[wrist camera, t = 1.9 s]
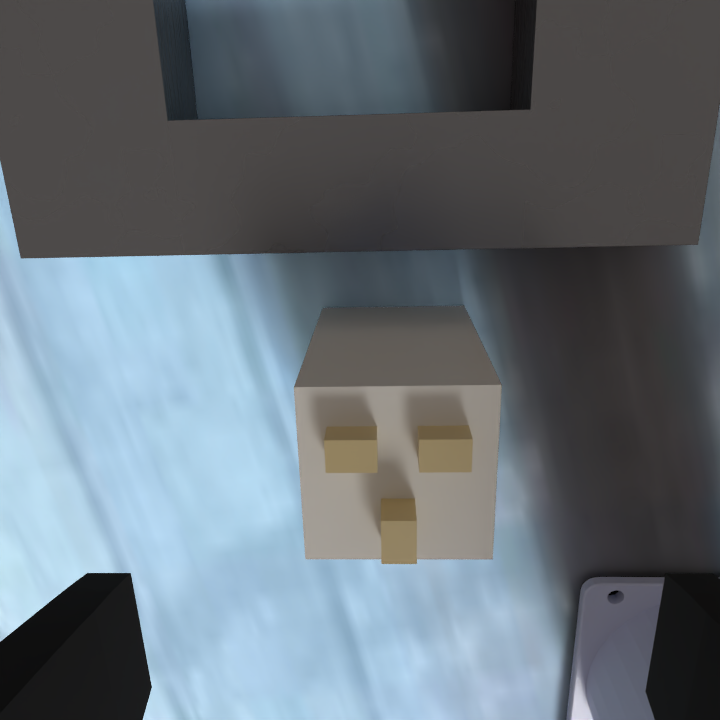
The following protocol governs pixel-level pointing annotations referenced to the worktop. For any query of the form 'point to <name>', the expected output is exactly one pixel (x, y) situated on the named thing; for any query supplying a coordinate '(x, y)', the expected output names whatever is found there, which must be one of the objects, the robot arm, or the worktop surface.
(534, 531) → the worktop surface
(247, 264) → the worktop surface
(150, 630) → the worktop surface
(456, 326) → the plug
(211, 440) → the worktop surface
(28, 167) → the socket plate
